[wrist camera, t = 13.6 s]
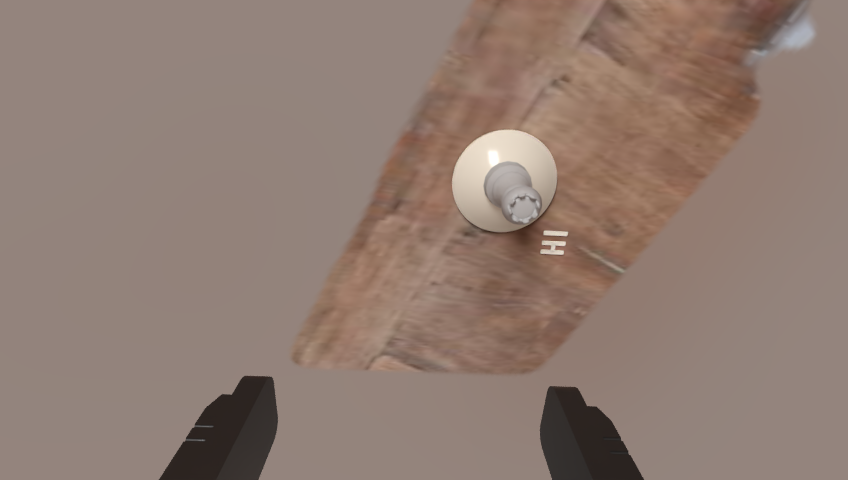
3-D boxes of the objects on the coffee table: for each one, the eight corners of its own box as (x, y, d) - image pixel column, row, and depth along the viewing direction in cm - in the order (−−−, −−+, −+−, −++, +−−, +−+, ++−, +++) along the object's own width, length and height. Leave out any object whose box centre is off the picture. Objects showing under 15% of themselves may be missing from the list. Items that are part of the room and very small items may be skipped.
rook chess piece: (539, 181, 39) (565, 207, 32) (505, 214, 40) (522, 246, 33) (507, 150, 38) (526, 169, 30) (473, 184, 39) (483, 211, 32)
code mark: (562, 254, 42) (563, 254, 42) (540, 253, 42) (540, 253, 42) (567, 231, 41) (567, 232, 41) (544, 230, 41) (544, 230, 41)
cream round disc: (456, 126, 38) (456, 127, 37) (564, 132, 38) (566, 133, 37) (448, 227, 41) (448, 229, 41) (545, 232, 42) (547, 234, 41)
